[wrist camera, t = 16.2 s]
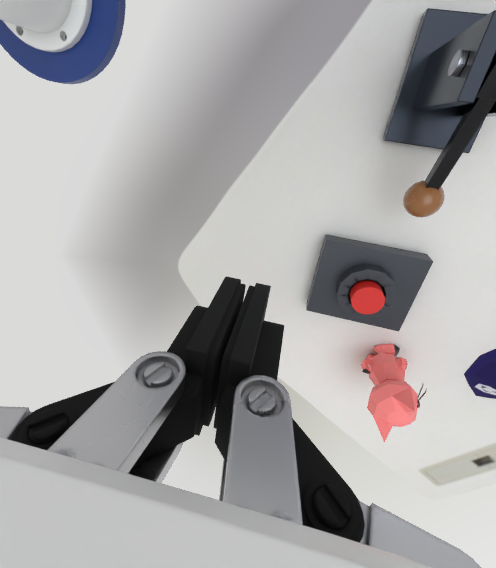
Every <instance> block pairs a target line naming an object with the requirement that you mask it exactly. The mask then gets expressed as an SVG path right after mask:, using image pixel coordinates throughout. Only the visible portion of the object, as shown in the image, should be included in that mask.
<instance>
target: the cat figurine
mask: <svg viewBox="0 0 496 568" xmlns="http://www.w3.org/2000/svg"><path fill="white" fill-rule="evenodd" d="M374 350H375V351H376V352H377V353H378V354H377V355H373V354H369V355H368V356H367V358H368V359H367V358H366V359H365V360H364V361H363V362H362V364H361V366H362V369H363V371H362V372H365V373H368V374H369V378H370V379H371V380H372V382H373V383H374V384H375V387H373V389H372V391H371V393H370V398H369V402H368V407H367V408H368V410H369V411H370V412H371V414H372V415H373V417H374V419H375V421H376V424H377V426H378V428H379V431H380V433H381V435H382V438H383V440H384V442H385V440H386V438H387V436H388V434H389V432H390V430H391V428H392V426H399V427H402V426H405V425H408V424H411V423H412V422H413V421H414V420H415V419H416V413H417V408H418V407H419V408H420V403H419V400H420V399H421V398H422V396H423V395H424V394H425V393H426V391H425V393H424V394H423V395H422V396H421V397H420V399H419V400H418V399H417V393H416V392H415V391H414V390H413V389H412V387H411V386H410V385H408V384H407V383H406V382H405V381H404V376H405V370H406V367H407V361H406V359H403V358H397V357H395V356H396V355H397V354H398V352H399V348H398V347H397V346H396V345H394V344H381V345H377V346H374ZM368 364H369V365H368ZM422 387H423V385H422ZM426 389H427V388H426ZM421 390H422V388H421ZM421 390H420V392H421ZM419 395H420V393H419ZM419 395H418V397H419ZM417 404H418V405H417Z"/></svg>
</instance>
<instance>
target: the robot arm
mask: <svg viewBox="0 0 496 568" xmlns="http://www.w3.org/2000/svg"><path fill="white" fill-rule="evenodd" d="M91 11H92V0H0V20H3V21H4V23H5V24H6V25H7V27H8V28H9V29H10V30H11V31H12V32H13V33H14V34H15V35H16V36H17V37H18V38H20V39H21V40H22V41H24V42H25V43H26V44H28V45H30V46H32V47H34V48H36V49H40V50H43V51H47V52H54V53H56V52H63V51H65V50H68V49H70V48H72V47H73V46H74V45H75V44H76V43H77V42H79V40H80V39H81V37H82V36H83V34H84V33H85V30H86V28H87V26H88V23H89V20H90V15H91ZM270 287H271V286H268V285H263V284H259V283H256V285H255V287H254V286H249V288H248V291H247V294H246V296H245V299H244V292H245V284H241V280H240V279H235V278H231V277H225V279H224V280H223V282H222V284H221V286H220V288H219V289H218V291H217V293H216V295H215V297H214V298H213V300H212V302H211V304H210V306H209V307H208V308H206V307H201V306H196V307H195V308H194V310H193V311H192V313H191V315H190V316H189V317H188V319H187V321H186V322H185V324H184V326H183V327H182V329H181V330H180V332H179V333H178V335H177V336H176V338H175V340H174V341H173V343H172V344H171V346H170V348H169V349H168V351H167V352H153V353H148V354H146V355H144V356H142V357H140V358H139V359H138V360H136V361H135V362H134V363H133V364H132V365H131V366H130V367H129V368H128V369H127V370H126V371H125V372H124V373H123V374H122V375H121V376H120V377H119V378H118V380H116V381H115V382H113V383H110V384H107V385H105V386H102V387H99V388H96V389H93V390H90V391H87V392H84V393H81V394H78V395H75V396H73V397H70V398H67V399H64V400H61V401H58V402H55V403H52V404H49V405H47V406H44V407H42V408H40V409H38V410H36V411H34V412H30V411H29V408H25V407H0V568H481V567H480V566H479V565H478V564H477V563H476V562H475V561H474V560H473V559H472V558H471V557H470V556H468V555H467V554H465V553H464V552H463V551H461V550H460V549H458V548H456V547H454V546H452V545H451V544H449V543H447V542H445V541H443V540H441V539H439V538H437V537H436V536H433V535H432V534H430V533H428V532H426V531H424V530H422V529H420V528H419V527H417V526H415V525H413V524H411V523H409V522H407V521H405V520H403V519H402V518H400V517H398V516H396V515H394V514H392V513H390V512H388V511H386V510H384V509H383V508H380V507H379V506H377V505H375V504H373V503H372V504H371V505H370V506H368V505H366V504H364V503H362V502H360V501H359V500H358V499H357V497H356V496H355V494H354V493H353V491H352V490H351V488H350V487H349V486H348V485H347V484H346V482H345V481H344V480H343V479H342V478H341V476H340V475H339V474H338V473H337V471H336V470H335V469H334V468H333V467H332V465H331V464H330V463H329V462H328V461H327V460H326V458H325V457H324V456H323V455H322V453H321V452H320V451H319V450H318V449H317V448H316V446H315V445H314V444H313V443H312V442H311V440H310V439H309V438H308V436H307V435H306V434H305V433H304V432H303V430H302V429H301V428H300V427H299V426H298V424H297V423H296V422H295V421H294V420H293V418H292V412H291V402H290V397H289V394H288V392H287V390H286V389H285V387H284V386H283V385H282V384H280V383H279V382H278V381H277V375H278V368H279V360H280V353H281V346H282V338H283V331H284V325H281V324H276V323H272V322H267V321H264V317H265V312H266V307H267V302H268V297H269V292H270ZM243 299H244V302H243ZM215 407H216V413H215V421H214V428H216V429H217V431H216V438H215V443H216V445H217V447H218V449H219V451H220V452H221V454H222V456H223V458H224V461H223V468H222V477H221V487H220V495H219V500H216V499H213V498H209V497H206V496H202V495H199V494H195V493H192V492H189V491H185V490H182V489H178V488H175V487H171V486H168V485H165V484H161V483H162V481H163V480H164V478H165V476H166V474H167V473H168V471H169V469H170V467H171V466H172V464H173V462H174V460H175V459H176V457H177V455H178V453H179V452H180V449H181V447H182V444H183V442H184V441H186V440H188V439H190V438H192V437H194V435H200V432H201V429H202V426H203V425H206V426H209V424H210V422H211V419H212V416H213V413H214V410H215Z"/></svg>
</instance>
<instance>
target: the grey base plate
mask: <svg viewBox="0 0 496 568" xmlns="http://www.w3.org/2000/svg"><path fill="white" fill-rule="evenodd" d="M432 263H433V261H432V260H431V259H430V258H429V256H428V255H427V254H422V253H417V252H412V251H407V250H402V249H397V248H391V247H386V246H381V245H376V244H371V243H366V242H361V241H356V240H351V239H345V238H340V237H335V236H330V235H325V239H324V242H323V246H322V250H321V253H320V257H319V260H318V264H317V268H316V271H315V275H314V278H313V282H312V286H311V289H310V293H309V296H308V300H307V309H306V310H308V311H312V312H317V313H321V314H325V315H330V316H334V317H339V318H343V319H347V320H352V321H356V322H360V323H365V324H369V325H374V326H378V327H382V328H387V329H391V330H396V331H399V330H400V328H401V326H402V324H403V322H404V320H405V318H406V316H407V314H408V312H409V310H410V307H411V305H412V303H413V301H414V299H415V297H416V295H417V293H418V291H419V289H420V287H421V285H422V283H423V281H424V279H425V277H426V275H427V273H428V271H429V269H430V267H431V265H432ZM365 280H369V281H373V282H376V283H377V284H378V285H379V286H380V287H381V289H382V291H383V294H384V296H385V303H384V306H383V307H382V308H381V309H380V310H379V311H378V312H376V313H373V314H361V313H359V312H357V311H356V310H355V309H354V308H353V307H352V304H351V299H350V291H351V289H352V287H353V286H354V285H355V284H356V283H358V282H360V281H365Z"/></svg>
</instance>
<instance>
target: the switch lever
mask: <svg viewBox="0 0 496 568" xmlns="http://www.w3.org/2000/svg"><path fill="white" fill-rule="evenodd" d="M495 102H496V53H495V55H494V57H493V59H492V62H491V64H490V66H489V69H488V71H487V73H486V75H485V78H484V80H483V82H482V85H481V87H480V89H479V91H478V94H477V96H476V98H475V101H474V103H471V104H470V105H469V106H468V108H467V110H466V111H465V113H464V115H463V117H462V118H461V120H460V122H459V123H458V125H457V127H456V129H455V130H454V132H453V134H452V135H451V137H450V139H449V141H448V142H447V144H446V146H445V147H444V149H443V151H442V153H441V154H440V156H439V158H438V159H437V161H436V163H435V164H434V166H433V168H432V170H431V171H430V173H429V175H428V176H427V178H426V180H425V181H420V182H418V183H415V184H414V185H412V186H411V187H410V188H409V189H408V190H407V192H406V193H405V195H404V200H403V203H404V207H405V209H406V211H407V212H408V213H409V214H411V215H413V216H416V217H426V216H430V215H432V214H434V213H435V212H436V211H438V210H439V208H440V207H441V206H442V204H443V201H444V191H443V189H442V188H441V185H442V184H443V182H444V181H445V179H446V178H447V176H448V175H449V173H450V172H451V170H452V168H453V167H454V165H455V164H456V162H457V161H458V159H459V158H460V156H461V154H462V153H463V151H464V150H465V148H466V147H467V145H468V144H469V142H470V141H471V139H472V137H473V136H474V134H475V133H476V131H477V130H478V128H479V127H480V125H481V123H482V122H483V120H484V119H485V117H486V116H487V114H488V113H489V111H490V109H491V108H492V106H493V105H494V103H495Z"/></svg>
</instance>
